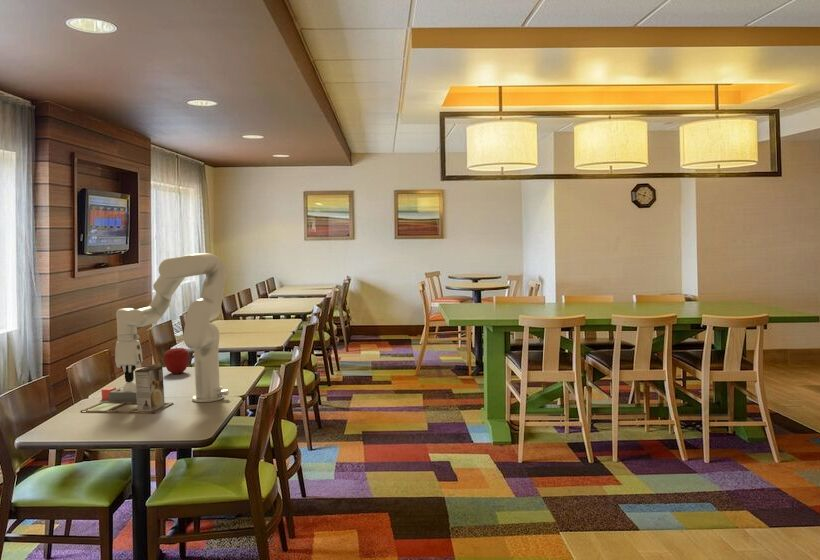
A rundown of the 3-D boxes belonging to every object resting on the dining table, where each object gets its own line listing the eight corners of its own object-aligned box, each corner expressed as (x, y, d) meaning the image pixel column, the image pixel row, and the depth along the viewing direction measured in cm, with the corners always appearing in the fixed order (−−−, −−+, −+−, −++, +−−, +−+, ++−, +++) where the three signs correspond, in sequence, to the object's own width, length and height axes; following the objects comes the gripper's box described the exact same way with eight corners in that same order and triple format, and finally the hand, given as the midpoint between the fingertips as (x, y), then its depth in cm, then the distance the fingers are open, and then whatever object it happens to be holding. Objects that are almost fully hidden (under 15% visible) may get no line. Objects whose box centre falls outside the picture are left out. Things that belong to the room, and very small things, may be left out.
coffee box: (150, 405, 262) (148, 365, 261) (165, 405, 261) (163, 365, 260) (136, 411, 253) (134, 370, 252) (151, 412, 252) (149, 370, 251)
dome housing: (152, 395, 279) (151, 385, 279) (136, 402, 268) (135, 392, 267) (126, 394, 281) (125, 385, 281) (109, 401, 269) (108, 392, 269)
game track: (173, 404, 263) (173, 402, 263) (154, 413, 249) (154, 412, 249) (103, 402, 268) (102, 401, 268) (80, 412, 254) (80, 410, 254)
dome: (145, 393, 278) (144, 379, 277) (134, 397, 270) (133, 383, 269) (127, 392, 279) (127, 379, 278) (116, 397, 271) (115, 383, 271)
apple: (184, 369, 332) (183, 343, 331) (193, 373, 323) (192, 346, 322) (160, 373, 324) (159, 346, 323) (169, 377, 315) (167, 349, 314)
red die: (116, 396, 278) (115, 387, 277) (110, 399, 274) (110, 389, 273) (107, 396, 278) (107, 386, 278) (102, 399, 274) (101, 389, 274)
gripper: (148, 336, 275) (150, 379, 276) (116, 336, 278) (118, 379, 279) (138, 339, 268) (140, 383, 269) (105, 339, 270) (107, 383, 271)
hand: (129, 381), depth 274 cm, fingers closed
